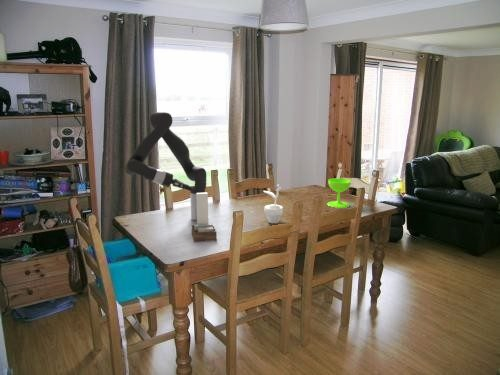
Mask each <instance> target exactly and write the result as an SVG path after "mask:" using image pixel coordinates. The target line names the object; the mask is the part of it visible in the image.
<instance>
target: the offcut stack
mask: <svg viewBox="0 0 500 375" xmlns="http://www.w3.org/2000/svg"><path fill="white" fill-rule="evenodd" d="M193 225H194V230H198V232H210V231H213V226H214V224H213V223H208V224H200V225H197V224H193Z"/></svg>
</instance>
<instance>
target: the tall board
mask: <svg viewBox="0 0 500 375" xmlns="http://www.w3.org/2000/svg"><path fill="white" fill-rule="evenodd" d="M208 197H209V195H208V192H206V191H205V193H196V200H197V220H196V225H200V224H209V198H208Z"/></svg>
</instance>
